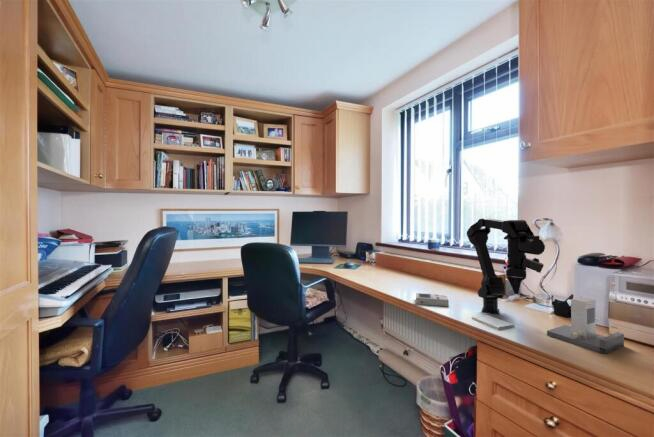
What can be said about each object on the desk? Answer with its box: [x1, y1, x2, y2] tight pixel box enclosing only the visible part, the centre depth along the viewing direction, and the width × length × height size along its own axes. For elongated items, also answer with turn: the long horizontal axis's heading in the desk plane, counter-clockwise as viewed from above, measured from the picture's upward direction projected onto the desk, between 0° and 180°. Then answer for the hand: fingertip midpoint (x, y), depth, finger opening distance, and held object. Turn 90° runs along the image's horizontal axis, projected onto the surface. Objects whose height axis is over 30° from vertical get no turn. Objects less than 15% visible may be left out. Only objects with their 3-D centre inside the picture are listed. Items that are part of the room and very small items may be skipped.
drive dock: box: [546, 324, 625, 355], centre depth 96 cm, size 16×12×4 cm
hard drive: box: [471, 314, 515, 331], centre depth 113 cm, size 2×8×12 cm
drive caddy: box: [570, 296, 597, 340], centre depth 96 cm, size 4×6×12 cm, turn 115°
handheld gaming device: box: [415, 292, 450, 307], centre depth 140 cm, size 9×15×4 cm, turn 72°
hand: (516, 291), depth 111 cm, fingers open, 9 cm apart
